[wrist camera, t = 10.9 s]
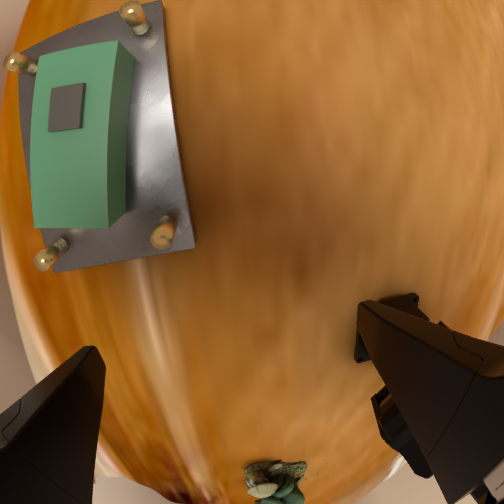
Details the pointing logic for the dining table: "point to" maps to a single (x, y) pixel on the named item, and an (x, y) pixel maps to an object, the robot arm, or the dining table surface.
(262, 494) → the frog figurine
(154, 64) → the chassis
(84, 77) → the board
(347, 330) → the dining table surface
